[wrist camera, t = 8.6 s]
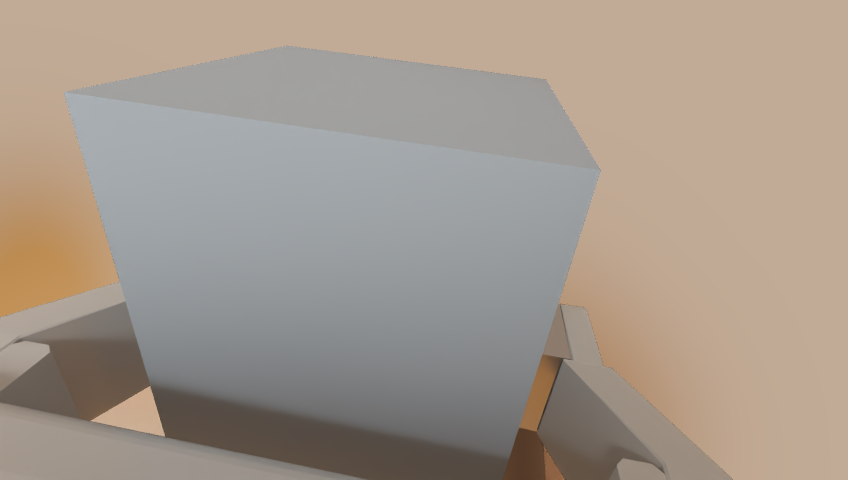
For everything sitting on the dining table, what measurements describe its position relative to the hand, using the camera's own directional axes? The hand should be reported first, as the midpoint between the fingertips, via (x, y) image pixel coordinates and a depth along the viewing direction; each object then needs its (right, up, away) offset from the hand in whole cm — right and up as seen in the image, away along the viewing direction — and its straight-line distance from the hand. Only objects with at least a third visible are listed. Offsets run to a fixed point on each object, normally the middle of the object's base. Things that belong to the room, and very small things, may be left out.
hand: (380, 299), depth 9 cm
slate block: (-1, -5, +2) cm, 6 cm away
